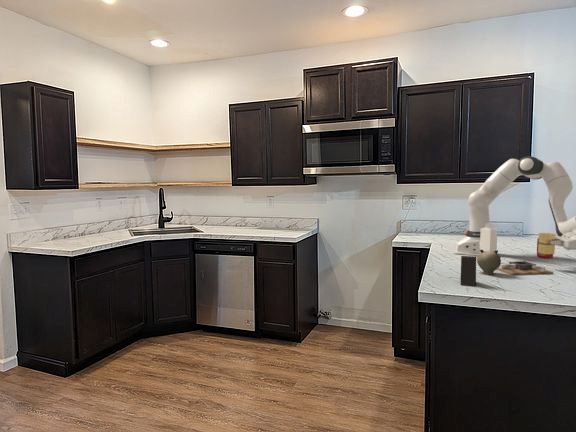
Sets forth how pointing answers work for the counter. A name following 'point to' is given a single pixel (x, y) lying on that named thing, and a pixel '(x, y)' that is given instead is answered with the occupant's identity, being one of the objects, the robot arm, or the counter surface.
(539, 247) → the coupler
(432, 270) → the counter surface
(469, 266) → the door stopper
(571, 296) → the counter surface
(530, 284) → the counter surface
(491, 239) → the milk
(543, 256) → the canned food
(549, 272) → the coupling board
